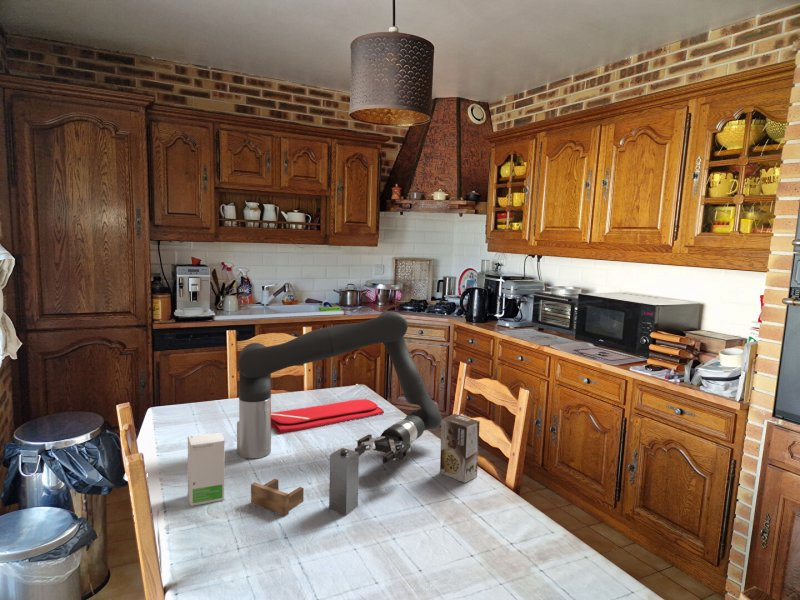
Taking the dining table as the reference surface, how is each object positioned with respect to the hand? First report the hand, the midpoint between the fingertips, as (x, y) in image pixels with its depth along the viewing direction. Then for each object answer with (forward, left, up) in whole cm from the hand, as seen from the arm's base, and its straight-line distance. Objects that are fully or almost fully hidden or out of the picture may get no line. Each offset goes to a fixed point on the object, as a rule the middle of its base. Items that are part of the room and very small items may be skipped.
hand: (369, 456), depth 135 cm
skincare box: (-32, -25, -9) cm, 42 cm away
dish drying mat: (-42, +37, -10) cm, 57 cm away
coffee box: (+17, +21, -9) cm, 28 cm away
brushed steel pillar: (0, -11, -9) cm, 14 cm away
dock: (-15, -18, -9) cm, 25 cm away
